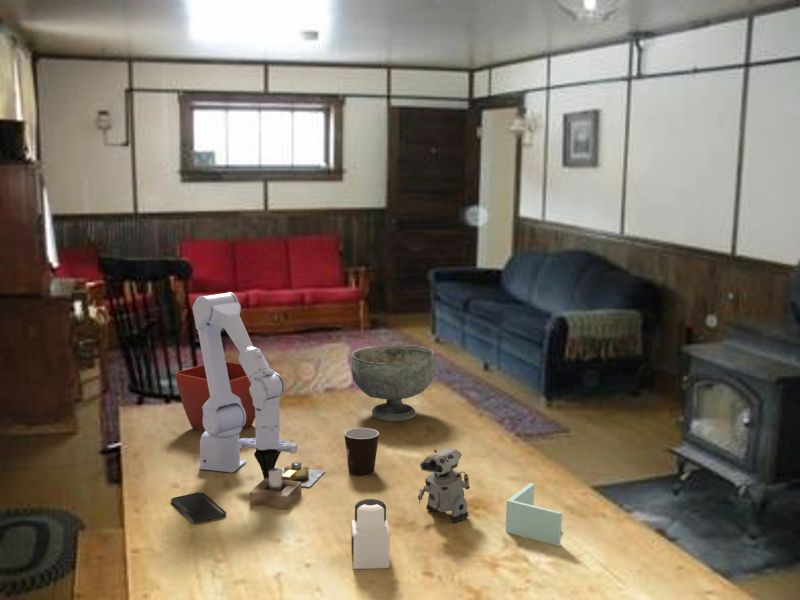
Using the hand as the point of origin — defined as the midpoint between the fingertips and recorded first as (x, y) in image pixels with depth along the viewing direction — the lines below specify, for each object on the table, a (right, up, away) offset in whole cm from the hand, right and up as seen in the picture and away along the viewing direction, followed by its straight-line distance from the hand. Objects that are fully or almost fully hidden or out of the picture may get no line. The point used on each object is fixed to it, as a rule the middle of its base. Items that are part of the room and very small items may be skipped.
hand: (268, 478), depth 207 cm
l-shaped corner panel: (+63, -7, -23) cm, 67 cm away
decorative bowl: (+30, +8, +56) cm, 64 cm away
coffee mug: (+22, 0, +10) cm, 24 cm away
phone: (-13, -4, -16) cm, 21 cm away
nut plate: (+6, -1, +4) cm, 7 cm away
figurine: (+41, -5, -18) cm, 45 cm away
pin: (+3, -3, -10) cm, 11 cm away
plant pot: (-20, +6, +42) cm, 47 cm away
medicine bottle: (+26, -8, -39) cm, 48 cm away
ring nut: (+6, 0, +2) cm, 6 cm away
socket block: (+3, -3, -10) cm, 11 cm away
